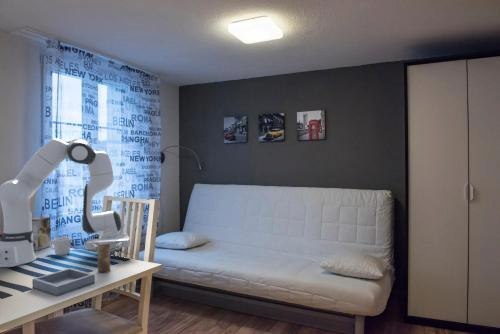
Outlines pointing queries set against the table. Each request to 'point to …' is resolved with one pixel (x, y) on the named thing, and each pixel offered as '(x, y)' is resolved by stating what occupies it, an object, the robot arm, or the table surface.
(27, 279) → the table surface
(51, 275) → the box
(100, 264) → the walnut cylinder
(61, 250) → the cup
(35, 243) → the coffee box
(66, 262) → the table surface
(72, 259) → the table surface
